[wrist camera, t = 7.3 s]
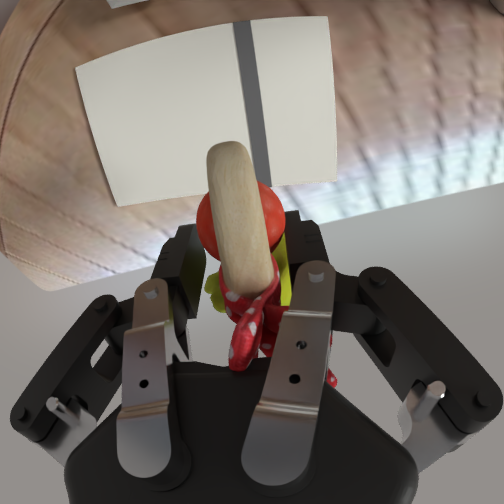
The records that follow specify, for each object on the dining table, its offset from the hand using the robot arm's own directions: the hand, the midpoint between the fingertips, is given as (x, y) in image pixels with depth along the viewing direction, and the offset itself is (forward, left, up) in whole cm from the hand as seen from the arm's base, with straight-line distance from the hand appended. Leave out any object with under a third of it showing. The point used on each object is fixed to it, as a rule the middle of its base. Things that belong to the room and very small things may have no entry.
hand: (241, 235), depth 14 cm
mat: (-2, -5, -20) cm, 21 cm away
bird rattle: (0, 0, -3) cm, 3 cm away
